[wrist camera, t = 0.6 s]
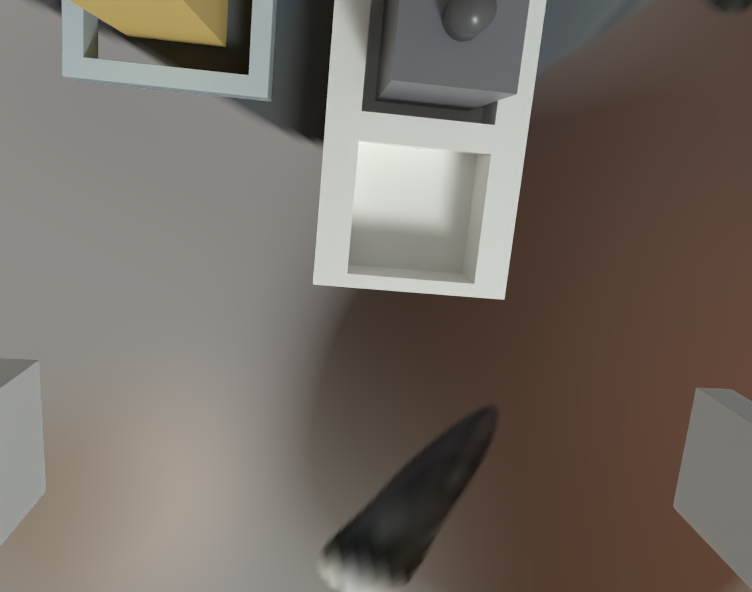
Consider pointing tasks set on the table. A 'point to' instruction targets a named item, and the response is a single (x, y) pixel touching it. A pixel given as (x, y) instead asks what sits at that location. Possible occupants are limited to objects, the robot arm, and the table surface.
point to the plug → (165, 19)
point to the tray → (88, 68)
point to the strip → (425, 143)
